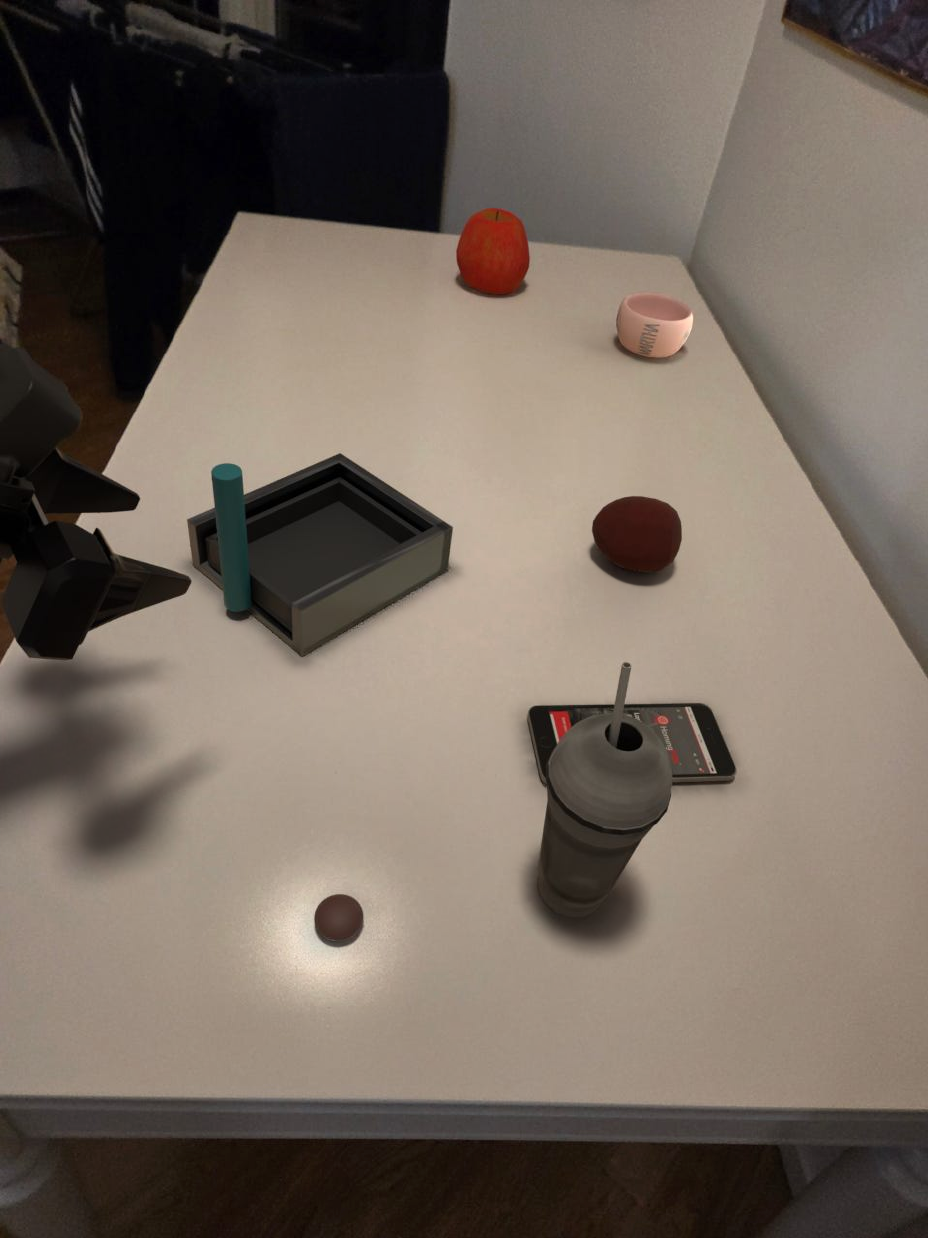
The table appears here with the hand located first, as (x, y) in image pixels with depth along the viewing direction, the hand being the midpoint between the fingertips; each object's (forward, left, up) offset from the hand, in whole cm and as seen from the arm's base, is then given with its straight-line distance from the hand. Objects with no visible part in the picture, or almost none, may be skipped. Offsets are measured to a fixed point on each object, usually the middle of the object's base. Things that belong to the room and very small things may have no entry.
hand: (161, 542), depth 55 cm
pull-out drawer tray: (+9, +18, -16) cm, 25 cm away
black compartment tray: (+7, +16, -15) cm, 23 cm away
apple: (+27, +85, -16) cm, 91 cm away
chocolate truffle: (+12, -17, -16) cm, 26 cm away
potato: (+37, +21, -16) cm, 46 cm away
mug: (+48, +69, -16) cm, 86 cm away
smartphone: (+33, -2, -16) cm, 37 cm away
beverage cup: (+27, -14, -16) cm, 35 cm away
